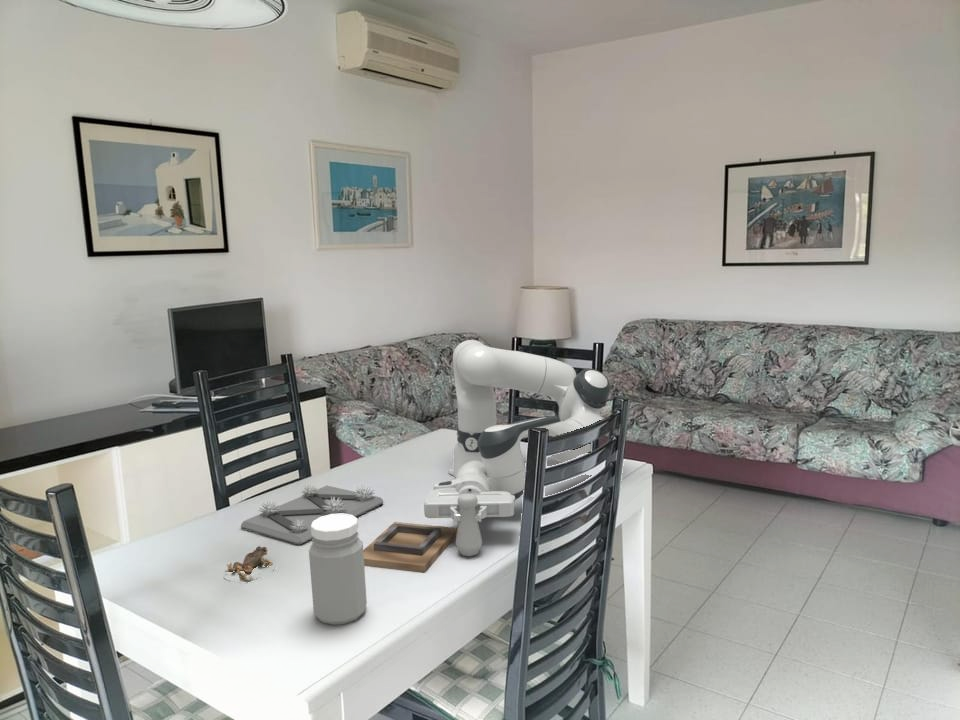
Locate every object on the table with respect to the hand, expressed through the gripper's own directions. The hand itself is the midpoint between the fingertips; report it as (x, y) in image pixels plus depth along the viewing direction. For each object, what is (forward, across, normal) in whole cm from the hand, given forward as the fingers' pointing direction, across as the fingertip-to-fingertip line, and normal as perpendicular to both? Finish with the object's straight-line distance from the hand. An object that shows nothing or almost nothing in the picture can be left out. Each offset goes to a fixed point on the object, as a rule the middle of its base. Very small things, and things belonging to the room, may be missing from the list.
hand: (467, 518), depth 152 cm
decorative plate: (-24, +40, -9) cm, 48 cm away
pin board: (-4, +14, -8) cm, 16 cm away
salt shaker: (-1, 0, -8) cm, 8 cm away
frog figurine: (+5, +47, -9) cm, 48 cm away
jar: (+24, +22, -8) cm, 34 cm away
